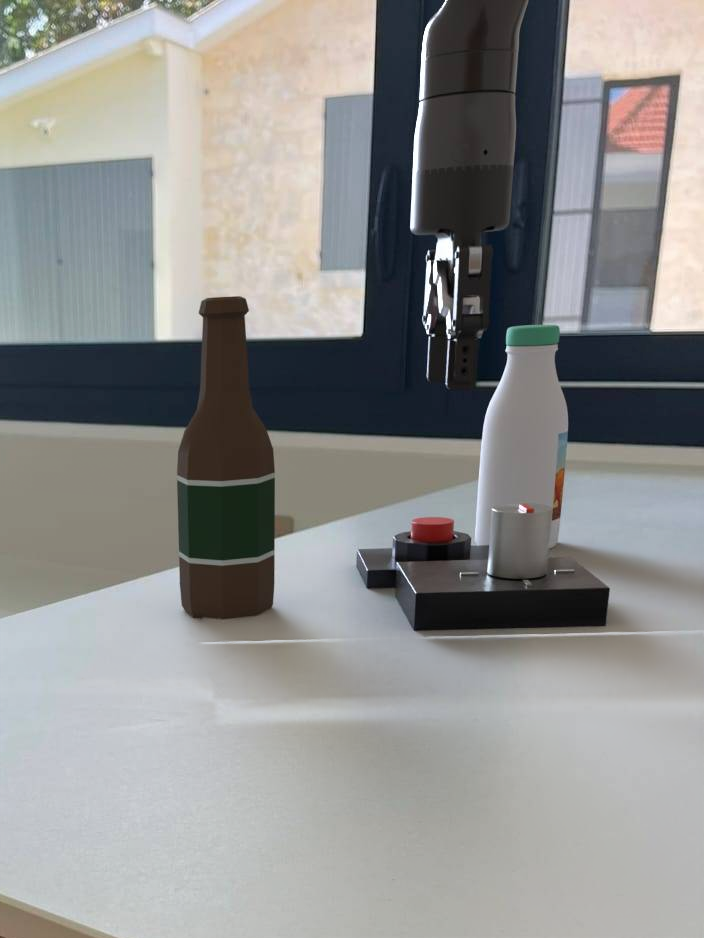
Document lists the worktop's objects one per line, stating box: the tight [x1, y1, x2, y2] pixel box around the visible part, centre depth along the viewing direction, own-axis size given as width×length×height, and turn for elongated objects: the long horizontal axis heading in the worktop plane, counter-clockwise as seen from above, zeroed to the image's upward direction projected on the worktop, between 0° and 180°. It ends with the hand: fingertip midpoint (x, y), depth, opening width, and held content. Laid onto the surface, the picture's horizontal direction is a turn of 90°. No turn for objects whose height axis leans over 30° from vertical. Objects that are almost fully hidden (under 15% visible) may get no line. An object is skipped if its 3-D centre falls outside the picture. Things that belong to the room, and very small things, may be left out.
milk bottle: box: [474, 324, 569, 550], centre depth 115 cm, size 8×8×20 cm
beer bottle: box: [176, 295, 276, 620], centre depth 97 cm, size 8×8×24 cm
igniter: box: [355, 530, 489, 590], centre depth 108 cm, size 12×9×4 cm
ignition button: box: [410, 516, 455, 542], centre depth 107 cm, size 4×4×2 cm
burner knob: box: [487, 503, 553, 579], centre depth 94 cm, size 4×4×5 cm
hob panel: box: [394, 556, 611, 632], centre depth 96 cm, size 14×11×3 cm
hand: (449, 385), depth 101 cm, fingers open, 8 cm apart
